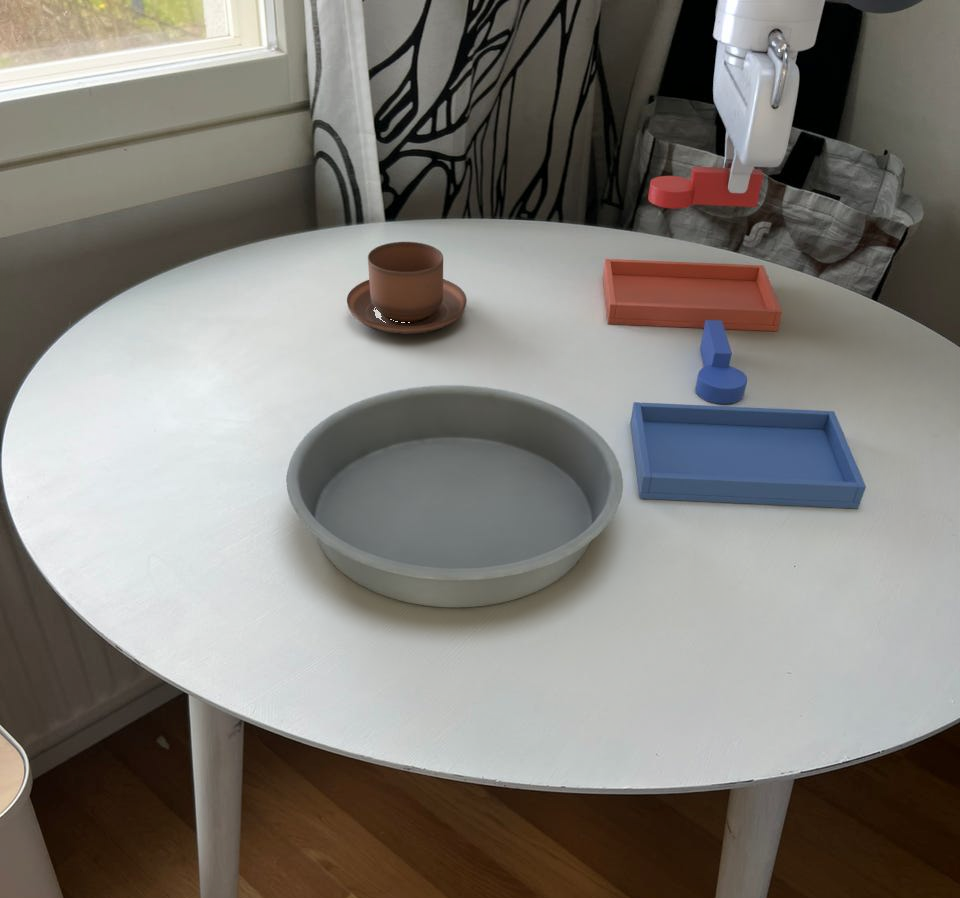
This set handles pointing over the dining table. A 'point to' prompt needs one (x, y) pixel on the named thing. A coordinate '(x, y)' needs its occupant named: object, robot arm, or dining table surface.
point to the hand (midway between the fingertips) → (733, 185)
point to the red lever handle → (703, 189)
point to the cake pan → (454, 493)
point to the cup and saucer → (406, 290)
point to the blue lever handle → (718, 368)
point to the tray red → (689, 294)
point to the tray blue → (743, 456)
